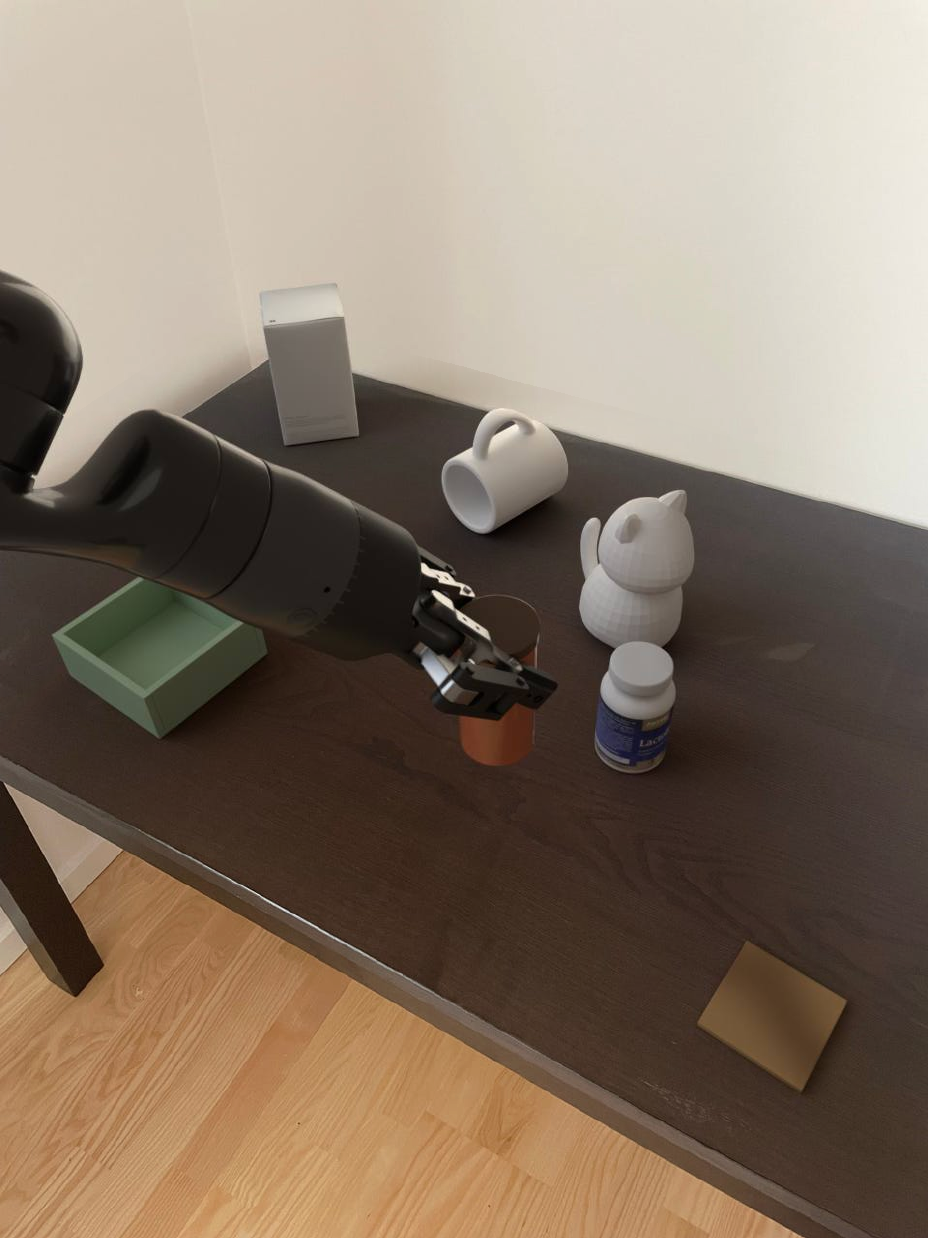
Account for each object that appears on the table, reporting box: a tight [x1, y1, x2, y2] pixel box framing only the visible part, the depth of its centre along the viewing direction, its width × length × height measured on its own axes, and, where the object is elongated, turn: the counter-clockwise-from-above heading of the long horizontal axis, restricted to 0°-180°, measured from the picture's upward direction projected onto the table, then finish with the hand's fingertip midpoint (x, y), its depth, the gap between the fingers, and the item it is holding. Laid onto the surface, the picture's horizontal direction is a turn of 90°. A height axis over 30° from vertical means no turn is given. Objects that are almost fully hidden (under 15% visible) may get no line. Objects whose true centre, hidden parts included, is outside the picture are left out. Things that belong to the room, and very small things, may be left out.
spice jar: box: [455, 594, 542, 767], centre depth 59 cm, size 5×5×10 cm
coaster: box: [696, 940, 848, 1094], centre depth 62 cm, size 7×7×1 cm
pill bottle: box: [594, 642, 677, 774], centre depth 75 cm, size 6×6×10 cm
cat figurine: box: [578, 489, 695, 650], centre depth 84 cm, size 9×12×15 cm
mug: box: [441, 407, 569, 535], centre depth 98 cm, size 8×10×12 cm
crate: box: [51, 577, 268, 740], centre depth 85 cm, size 12×12×5 cm
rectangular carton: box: [259, 282, 360, 446], centre depth 110 cm, size 9×9×15 cm
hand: (524, 661), depth 58 cm, fingers closed on spice jar, 5 cm apart
